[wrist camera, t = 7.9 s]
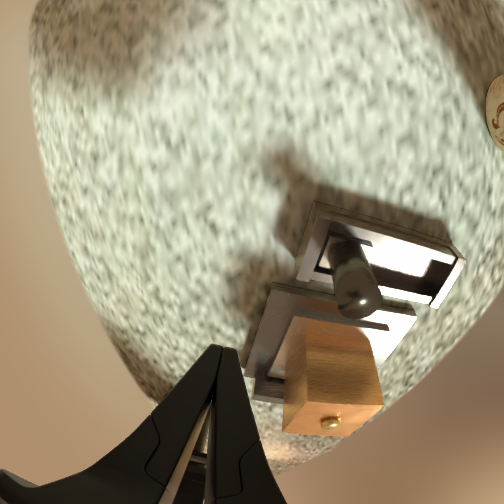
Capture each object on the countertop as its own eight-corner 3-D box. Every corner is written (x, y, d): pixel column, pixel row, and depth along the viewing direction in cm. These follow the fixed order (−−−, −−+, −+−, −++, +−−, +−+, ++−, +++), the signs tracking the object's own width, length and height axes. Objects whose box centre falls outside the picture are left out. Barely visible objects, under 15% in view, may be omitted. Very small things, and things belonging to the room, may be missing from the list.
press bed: (357, 384, 26) (361, 410, 23) (244, 369, 26) (240, 397, 23) (414, 310, 20) (426, 338, 17) (272, 282, 20) (269, 314, 17)
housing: (370, 340, 20) (384, 410, 15) (342, 378, 23) (347, 440, 18) (305, 330, 20) (307, 406, 15) (284, 371, 23) (281, 436, 18)
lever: (357, 267, 17) (375, 323, 13) (316, 258, 17) (325, 314, 13) (370, 238, 16) (395, 289, 12) (328, 226, 16) (342, 278, 12)
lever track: (427, 289, 19) (437, 308, 17) (295, 259, 19) (295, 279, 17) (452, 243, 16) (466, 260, 15) (313, 201, 16) (317, 216, 14)
